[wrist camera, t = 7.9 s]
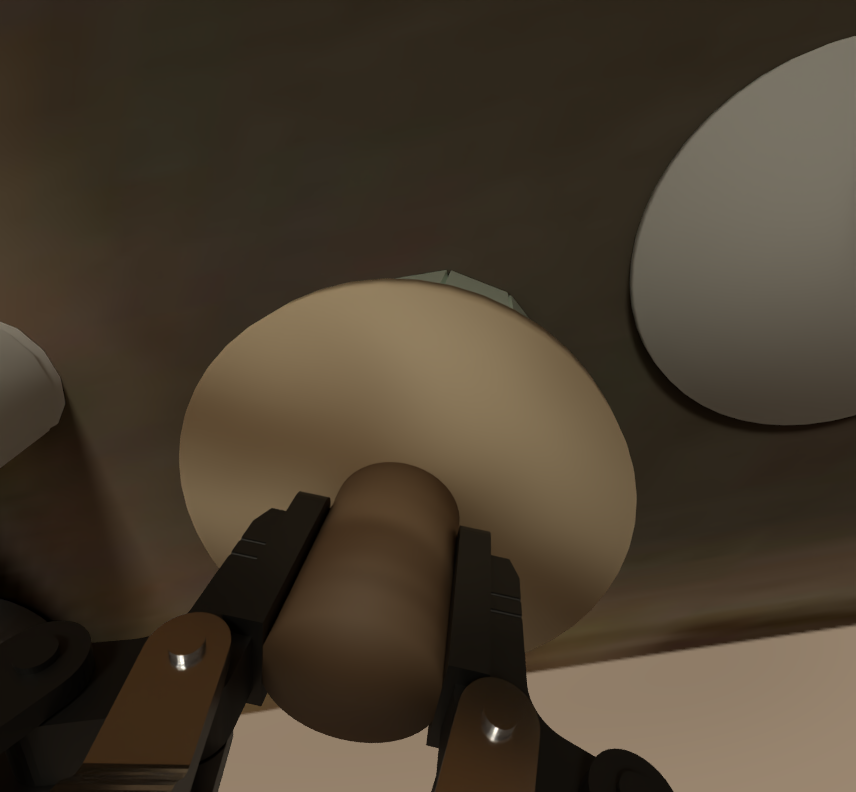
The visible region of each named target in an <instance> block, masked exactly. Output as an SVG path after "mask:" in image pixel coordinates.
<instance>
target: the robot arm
mask: <svg viewBox="0 0 856 792" xmlns="http://www.w3.org/2000/svg"><path fill="white" fill-rule="evenodd" d="M330 505H331V500H330V497H326V496H321V495H316V494H312V493H307V492H302V491H299V492H298V493H297V494H296V496H295V497H294V499H293V501H292V502H291V504H290V505H289V507H288V509H287V510H286V511H284V510H280V509H275V508H271V509H269V510H268V511H266V512H265V513H263V514H262V515H260V516H259V517H257V518H256V519H254V520H253V521H252V523H251V524H250V526H249V527H248V528H247V530H246V531H245V533H244V534H243V536H242V537H241V540H240V541H238V543H237V544H236V546H235V547H234V548H233V550H232V552H231V555H229V556H228V557H227V558H226V560H225V561H224V563H223V564H222V566H221V567H220V568H219V570H218V571H217V573H216V574H215V576H214V577H213V579H212V580H211V581H210V583H209V584H208V586H207V587H206V589H205V590H204V591H203V593H202V594H201V596H200V597H199V599H198V600H197V601H196V603H195V604H194V606H193V607H192V608H191V610H190V611H189V612H188V613H187V614H183V615H180V616H177V617H175V618H172V619H171V620H169V621H167V622H165V623H164V624H162V625H161V626H160V627H158V628H157V629H156V630H155V631H154V632H153V633H152V634H151V635H150V636H148V637H144V638H139V639H132V640H120V641H108V642H96V643H91V638H90V635H89V633H88V631H87V630H86V629H85V628H84V627H83V626H81V625H80V624H78V623H75V622H71V621H51V622H47V621H46V620H44V619H43V618H42V617H40V616H39V615H37V614H35V613H33V612H32V611H30V610H28V609H26V608H24V607H22V606H20V605H17V604H15V603H12V602H10V601H6V600H3V599H0V792H218V789H219V786H220V782H221V778H222V775H223V771H224V768H225V764H226V761H227V757H228V753H229V750H230V746H231V742H232V738H233V729H234V727H235V725H236V723H237V721H238V718H239V716H240V714H241V712H242V710H243V708H244V706H245V704H246V703H249V704H254V705H258V706H262V703H263V701H264V699H265V697H266V694H267V691H266V689H265V687H264V685H263V683H262V660H263V645H264V643H265V641H266V638H267V636H268V634H269V632H270V630H271V628H272V626H273V624H274V622H275V620H276V618H277V616H278V614H279V612H280V610H281V608H282V606H283V604H284V602H285V600H286V598H287V596H288V594H289V592H290V590H291V588H292V586H293V583H294V581H295V579H296V577H297V575H298V573H299V571H300V569H301V567H302V565H303V563H304V561H305V559H306V557H307V555H308V553H309V551H310V549H311V547H312V545H313V543H314V541H315V539H316V537H317V535H318V533H319V531H320V528H321V526H322V524H323V522H324V520H325V518H326V516H327V514H328V512H329V510H330ZM520 601H521V592H520V578H519V576H518V574H517V572H516V571H515V569H514V567H513V565H512V563H511V561H510V559H507V558H502V557H498V556H493V555H491V533H490V532H489V531H485V530H480V529H475V528H471V527H466V526H461V525H460V527H459V530H458V534H457V540H456V550H455V560H454V570H453V581H452V591H451V601H450V611H449V621H448V632H447V642H446V652H445V662H444V673H443V683H442V689H441V693H440V697H439V700H438V704H437V708H436V711H435V715H434V718H433V721H432V722H431V723H430V724H429V727H428V735H427V744H426V745H428V746H432V747H436V748H439V751H438V762H437V773H436V778H435V781H434V785H433V788H432V791H431V792H673V790H672V789H671V787H670V786H669V784H668V783H667V781H666V780H665V779H664V778H663V776H662V775H661V774H660V773H659V772H658V771H657V770H656V769H655V768H654V767H653V766H652V765H651V764H650V763H648V762H647V761H646V760H645V759H643V758H641V757H640V756H638V755H636V754H634V753H632V752H629V751H626V750H622V749H608V750H605V751H603V752H601V753H600V754H599V755H597V757H595V756H593V755H591V754H590V753H588V752H586V751H584V750H583V749H581V748H579V747H578V746H576V745H574V744H572V743H571V742H569V741H567V740H566V739H564V738H562V737H561V736H560V735H558V734H557V733H555V732H554V731H553V730H552V729H551V728H550V727H549V726H548V725H547V724H546V723H545V722H544V721H543V720H542V718H541V717H540V716H539V714H538V713H537V711H536V709H535V708H534V706H533V704H532V702H531V699H530V696H529V693H528V688H527V678H526V664H525V649H524V635H523V621H522V606H521V602H520Z"/></svg>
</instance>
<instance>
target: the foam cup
mask: <svg viewBox="0 0 856 792" xmlns="http://www.w3.org/2000/svg"><path fill="white" fill-rule="evenodd" d="M64 406H65V398H64V393H63V388H62V382H61V377H60V376H59V374H58V373H57V371H56V369H55V368H54V366H53V365H52V363H51V362H50V360H49V358H48V357H47V355H46V354H45V352H44V351H43V350H42V349H41V348H40V347H39V346H38V345H36V344H35V343H34V342H33V341H32V340H30V339H29V338H28V337H27V336H26V335H25V334H23V333H22V332H21V331H20V330H19V329H17V328H15V327H12V326H10V325H7V324H5V323H2V322H0V468H1V467H2V466H4V465H5V464H6V463H8V462H9V461H10V460H12V459H13V458H14V457H15V456H17V455H18V454H19V453H21V452H22V451H23V450H25V449H26V448H27V447H29V446H30V445H31V444H32V443H34V442H35V441H36V440H38V439H39V438H40V437H42V436H43V435H44V434H46V433H47V432H48V431H49V430H50V428H52V427H53V426H55V425H56V424H58V423H59V420H60V417H61V414H62V412H63V409H64Z"/></svg>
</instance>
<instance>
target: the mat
mask: <svg viewBox="0 0 856 792" xmlns="http://www.w3.org/2000/svg"><path fill="white" fill-rule="evenodd" d="M629 285H630V297H631V307H632V311H633V315H634V320H635V324H636V327H637V330H638V332H639V335H640V337H641V340H642V342H643V345H644V346H645V348H646V350H647V351H648V353H649V355H650V356H651V358H652V360H653V361H654V363H655V364H656V365H657V366H658V367H659V369H660V370H661V371H662V372H663V373H664V375H665V376H666V377H667V378H668V379H669V380H670V381H671V382H672V383H673V384H674V385H675V386H676V387H678V388H679V389H680V390H681V391H682V392H683V393H684V394H686V395H687V396H689V397H690V398H692V399H693V400H695V401H696V402H698V403H699V404H701V405H703V406H705V407H707V408H709V409H711V410H713V411H716V412H718V413H720V414H723V415H726V416H729V417H732V418H736V419H739V420H743V421H749V422H754V423H760V424H772V425H804V424H814V423H821V422H828V421H833V420H838V419H842V418H846V417H850V416H854V415H856V36H854V37H850V38H847V39H843V40H840V41H836V42H833V43H830V44H828V45H825V46H823V47H820V48H818V49H816V50H813V51H811V52H808V53H806V54H804V55H801V56H799V57H796V58H794V59H792V60H789V61H787V62H785V63H784V64H782V65H780V66H778V67H776V68H775V69H773V70H771V71H769V72H767V73H766V74H764V75H762V76H760V77H759V78H757V79H756V80H754V81H753V82H752V83H750V84H749V85H747V86H746V87H744V88H743V89H742V90H740V91H739V92H737V93H736V94H735V95H733V96H732V97H731V98H730V99H728V100H727V101H726V102H725V103H724V104H723V105H722V106H720V107H719V108H718V109H717V110H716V111H715V112H714V113H712V114H711V115H710V116H709V117H708V118H707V119H706V120H705V121H704V122H703V123H702V124H701V125H700V127H699V128H698V129H697V130H696V131H695V132H694V133H693V134H692V135H691V136H690V137H689V138H688V139H687V141H686V142H685V143H684V145H683V146H682V147H681V149H680V150H679V151H678V153H677V154H676V155H675V157H674V158H673V159H672V161H671V162H670V163H669V165H668V166H667V168H666V170H665V171H664V173H663V175H662V176H661V178H660V180H659V181H658V183H657V185H656V187H655V188H654V190H653V192H652V195H651V197H650V199H649V201H648V203H647V206H646V208H645V210H644V212H643V215H642V218H641V221H640V224H639V227H638V231H637V234H636V237H635V241H634V247H633V252H632V257H631V266H630V284H629Z"/></svg>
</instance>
